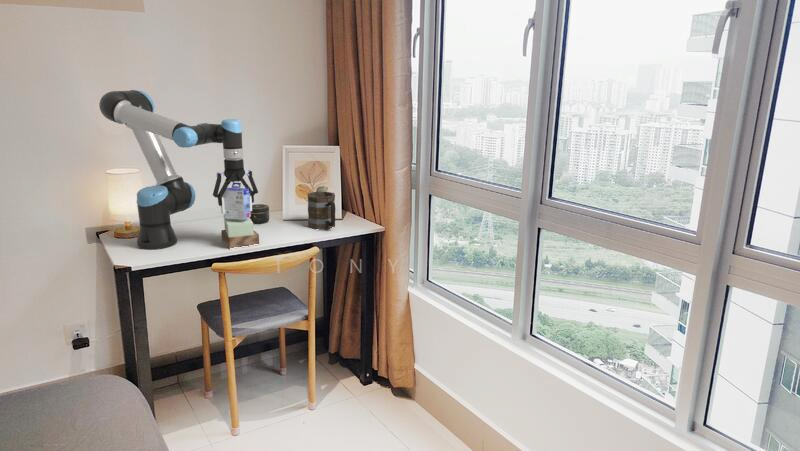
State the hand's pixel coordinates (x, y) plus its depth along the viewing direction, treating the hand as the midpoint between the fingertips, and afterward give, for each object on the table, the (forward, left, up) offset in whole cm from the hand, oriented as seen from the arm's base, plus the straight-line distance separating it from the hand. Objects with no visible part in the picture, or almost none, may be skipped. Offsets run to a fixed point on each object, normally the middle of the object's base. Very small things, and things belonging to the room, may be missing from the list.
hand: (236, 211), depth 231 cm
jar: (+17, +28, -14) cm, 36 cm away
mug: (+41, +5, -14) cm, 44 cm away
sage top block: (0, 0, -9) cm, 9 cm away
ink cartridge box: (0, 0, -3) cm, 3 cm away
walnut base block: (+1, 0, -14) cm, 14 cm away
